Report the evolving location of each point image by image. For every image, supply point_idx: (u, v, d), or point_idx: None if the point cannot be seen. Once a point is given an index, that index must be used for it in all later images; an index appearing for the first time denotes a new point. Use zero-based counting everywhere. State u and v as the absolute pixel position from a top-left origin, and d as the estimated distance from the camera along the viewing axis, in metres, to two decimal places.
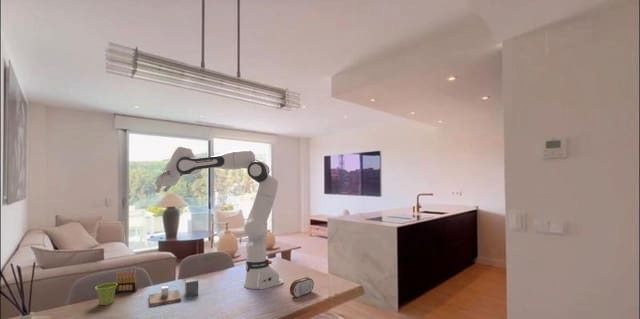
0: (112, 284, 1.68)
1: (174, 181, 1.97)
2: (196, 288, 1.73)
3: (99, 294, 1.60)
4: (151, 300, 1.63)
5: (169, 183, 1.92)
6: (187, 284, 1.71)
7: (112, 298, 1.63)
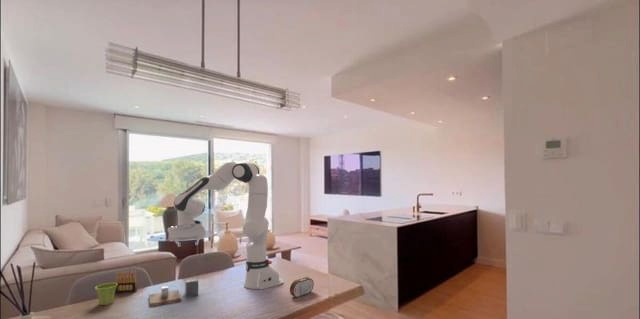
0: (112, 284, 1.68)
1: (197, 231, 1.93)
2: (196, 288, 1.73)
3: (99, 294, 1.60)
4: (151, 300, 1.63)
5: (189, 234, 1.90)
6: (187, 284, 1.71)
7: (112, 298, 1.63)
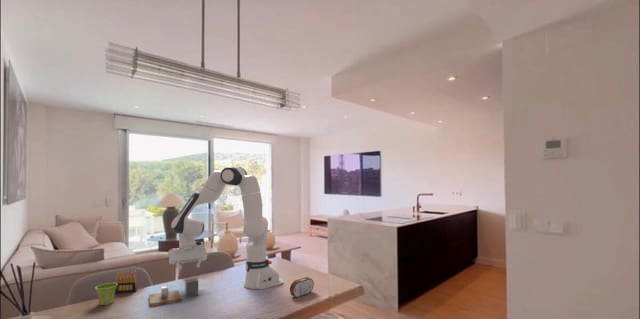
0: (112, 284, 1.68)
1: (198, 253, 1.90)
2: (196, 288, 1.73)
3: (99, 294, 1.60)
4: (151, 300, 1.63)
5: (190, 256, 1.87)
6: (187, 284, 1.71)
7: (112, 298, 1.63)
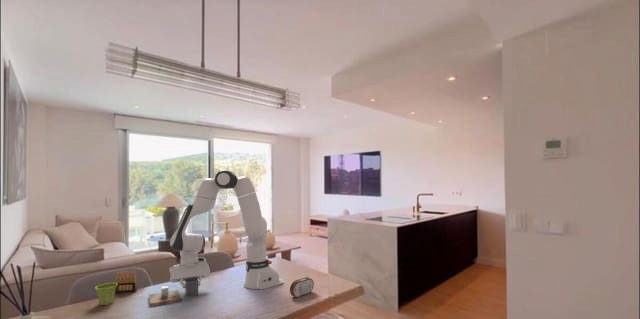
0: (112, 284, 1.68)
1: (201, 270, 1.81)
2: (196, 288, 1.73)
3: (99, 294, 1.60)
4: (151, 300, 1.63)
5: (192, 273, 1.78)
6: (187, 284, 1.71)
7: (112, 298, 1.63)
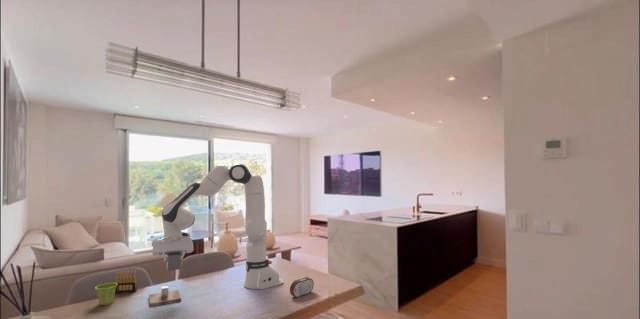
0: (112, 284, 1.68)
1: (184, 244, 1.78)
2: (178, 262, 1.70)
3: (99, 294, 1.60)
4: (151, 300, 1.63)
5: (175, 248, 1.74)
6: (169, 257, 1.68)
7: (112, 298, 1.63)
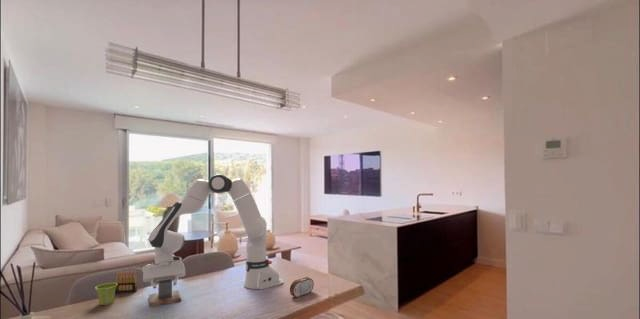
0: (112, 284, 1.68)
1: (176, 269, 1.75)
2: (169, 290, 1.67)
3: (99, 294, 1.60)
4: (151, 300, 1.63)
5: (166, 273, 1.71)
6: (160, 286, 1.65)
7: (112, 298, 1.63)
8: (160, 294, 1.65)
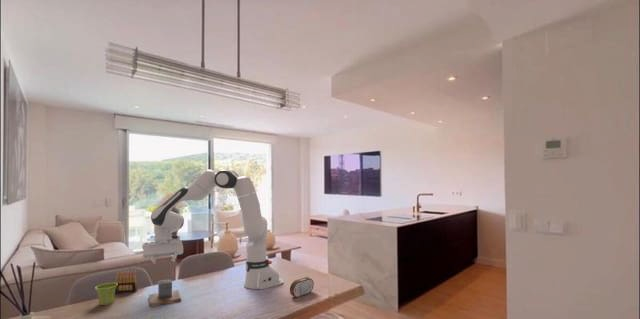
0: (112, 284, 1.68)
1: (174, 246, 1.84)
2: (169, 290, 1.67)
3: (99, 294, 1.60)
4: (151, 300, 1.63)
5: (165, 250, 1.80)
6: (160, 286, 1.65)
7: (112, 298, 1.63)
8: (160, 294, 1.65)
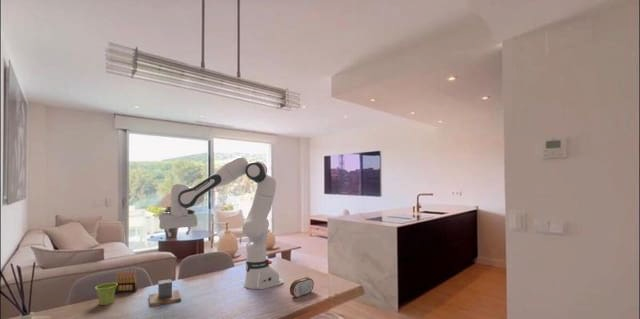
0: (112, 284, 1.68)
1: (189, 221, 1.90)
2: (169, 290, 1.67)
3: (99, 294, 1.60)
4: (151, 300, 1.63)
5: (180, 225, 1.88)
6: (160, 286, 1.65)
7: (112, 298, 1.63)
8: (160, 294, 1.65)
